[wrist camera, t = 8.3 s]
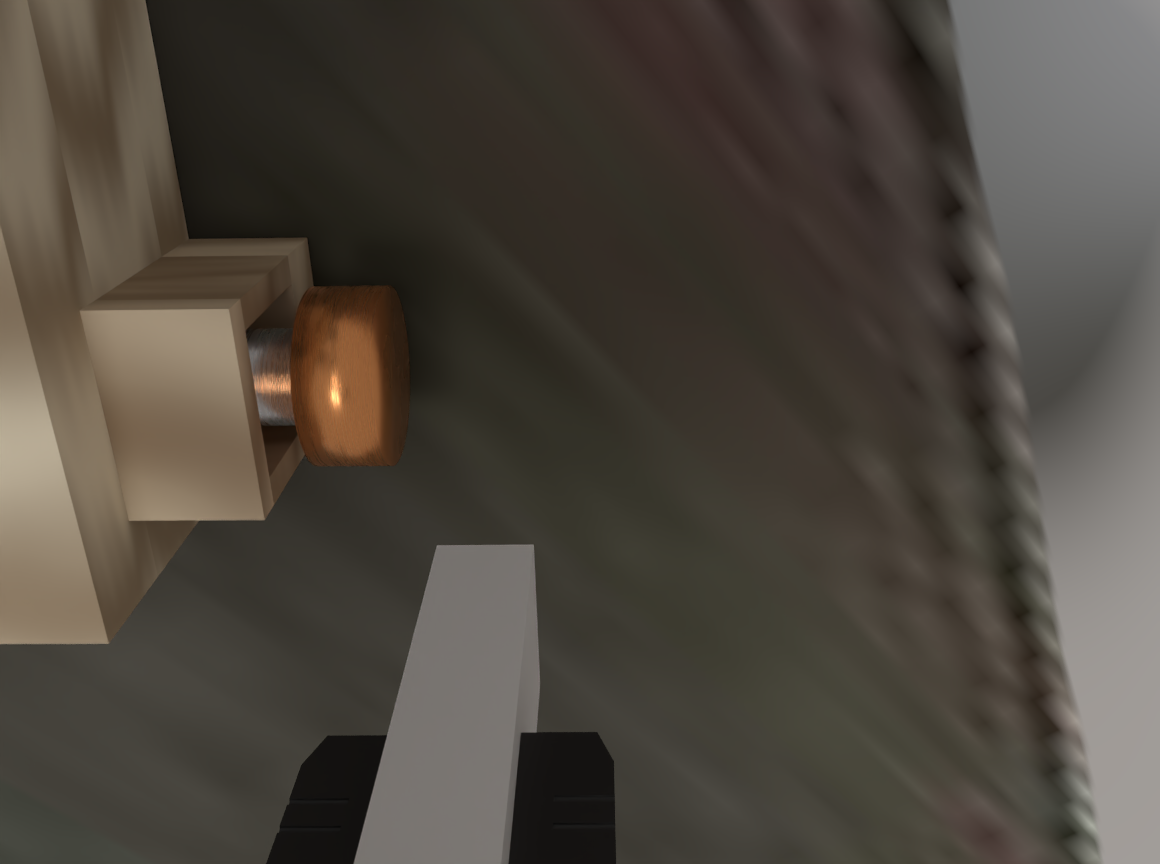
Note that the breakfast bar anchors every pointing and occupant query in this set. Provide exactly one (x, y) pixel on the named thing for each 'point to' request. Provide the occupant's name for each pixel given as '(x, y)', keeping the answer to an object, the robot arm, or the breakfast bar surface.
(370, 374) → the pin
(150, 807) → the breakfast bar surface
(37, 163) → the block
